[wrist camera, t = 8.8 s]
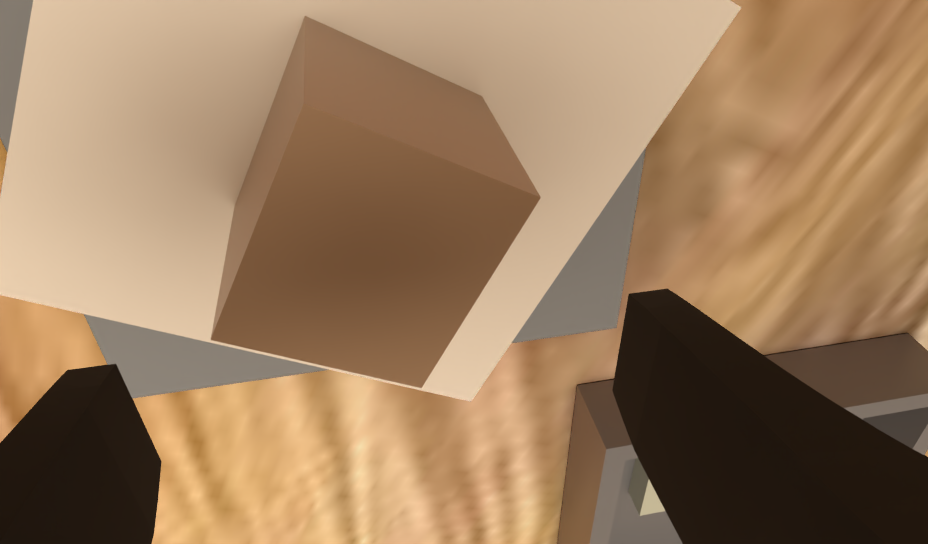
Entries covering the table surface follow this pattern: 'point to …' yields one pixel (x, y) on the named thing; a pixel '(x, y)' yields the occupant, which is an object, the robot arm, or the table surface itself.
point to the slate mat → (207, 365)
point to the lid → (331, 166)
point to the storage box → (823, 368)
